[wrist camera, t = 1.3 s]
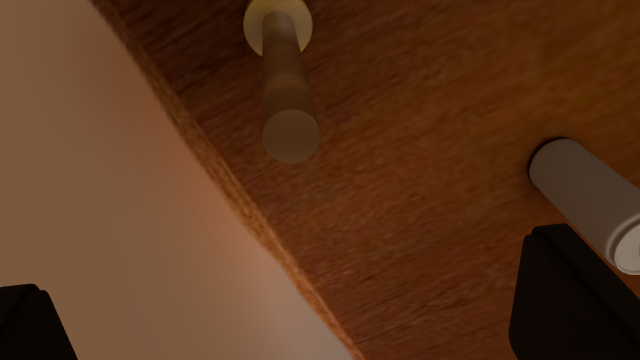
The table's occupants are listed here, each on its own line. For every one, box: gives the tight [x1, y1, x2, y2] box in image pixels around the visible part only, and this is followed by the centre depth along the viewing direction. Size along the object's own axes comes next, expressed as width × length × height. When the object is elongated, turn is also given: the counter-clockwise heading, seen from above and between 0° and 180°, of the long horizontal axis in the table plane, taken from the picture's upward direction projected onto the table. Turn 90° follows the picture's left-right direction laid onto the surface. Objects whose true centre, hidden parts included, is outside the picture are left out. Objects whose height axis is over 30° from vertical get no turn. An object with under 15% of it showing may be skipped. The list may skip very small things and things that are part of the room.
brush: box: [243, 0, 321, 164], centre depth 25 cm, size 4×4×20 cm
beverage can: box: [529, 139, 640, 275], centre depth 37 cm, size 5×5×12 cm
